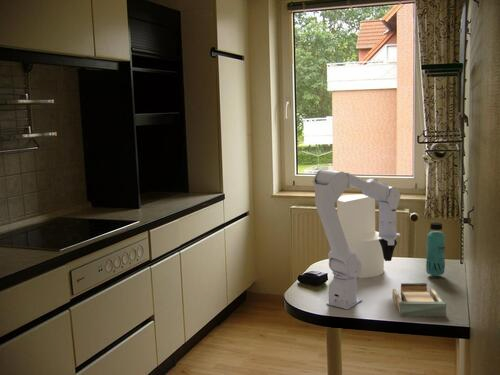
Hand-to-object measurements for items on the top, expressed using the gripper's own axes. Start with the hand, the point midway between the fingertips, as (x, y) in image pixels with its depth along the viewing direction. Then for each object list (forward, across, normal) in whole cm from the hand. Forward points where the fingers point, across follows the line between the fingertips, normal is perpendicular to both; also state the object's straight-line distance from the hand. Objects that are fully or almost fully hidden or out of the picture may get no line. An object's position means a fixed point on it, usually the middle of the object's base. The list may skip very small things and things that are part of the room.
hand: (387, 260), depth 181 cm
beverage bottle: (+11, +13, -19) cm, 26 cm away
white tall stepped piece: (+11, +22, +7) cm, 25 cm away
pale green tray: (+10, -15, -7) cm, 19 cm away
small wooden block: (+10, -14, -7) cm, 19 cm away
